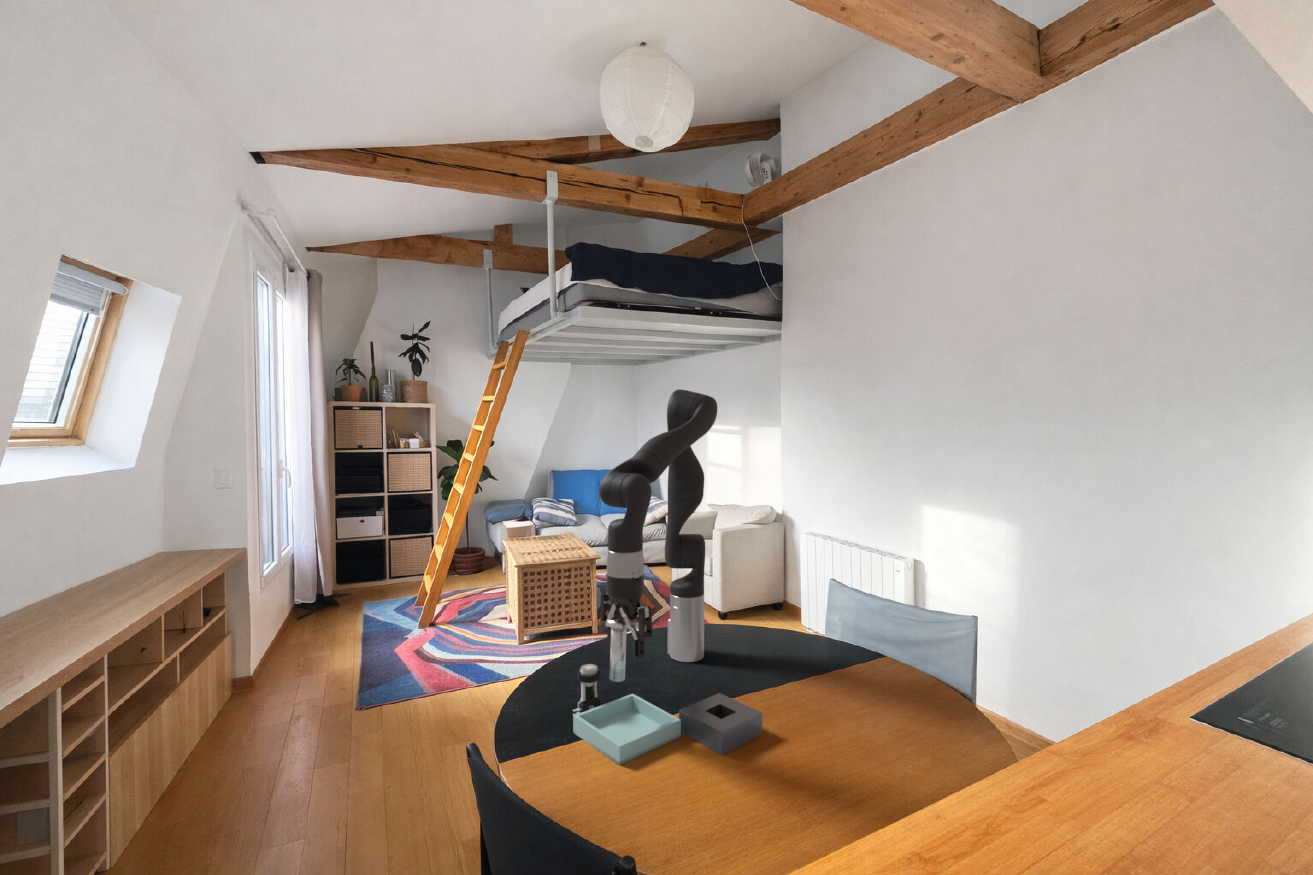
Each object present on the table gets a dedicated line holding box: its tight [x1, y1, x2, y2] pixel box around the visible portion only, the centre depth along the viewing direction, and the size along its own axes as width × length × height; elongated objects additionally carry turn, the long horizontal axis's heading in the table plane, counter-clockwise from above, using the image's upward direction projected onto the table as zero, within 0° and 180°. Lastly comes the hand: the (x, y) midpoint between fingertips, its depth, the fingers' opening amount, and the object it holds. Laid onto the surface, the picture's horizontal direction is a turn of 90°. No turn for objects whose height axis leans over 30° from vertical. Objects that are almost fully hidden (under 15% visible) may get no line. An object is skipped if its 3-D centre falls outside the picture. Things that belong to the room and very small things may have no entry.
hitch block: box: [678, 692, 763, 756], centre depth 125 cm, size 12×12×4 cm
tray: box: [572, 693, 682, 766], centre depth 125 cm, size 16×16×4 cm
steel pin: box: [607, 618, 628, 683], centre depth 126 cm, size 5×5×12 cm
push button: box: [572, 663, 602, 717], centre depth 134 cm, size 7×5×10 cm
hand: (625, 650), depth 124 cm, fingers open, 8 cm apart
